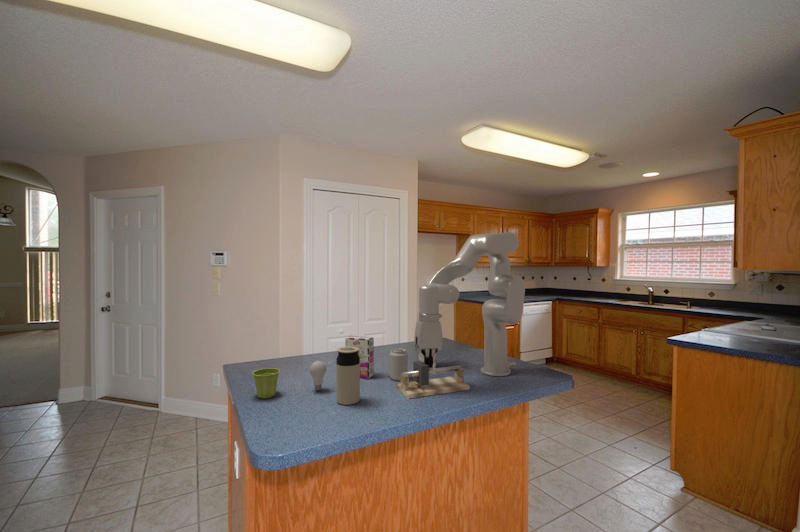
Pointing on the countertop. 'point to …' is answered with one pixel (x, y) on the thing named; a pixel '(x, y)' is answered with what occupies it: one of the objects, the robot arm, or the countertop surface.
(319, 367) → the lightbulb
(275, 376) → the plant pot
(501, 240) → the robot arm
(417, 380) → the collar
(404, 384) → the pipe stand
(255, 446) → the countertop surface
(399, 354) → the can
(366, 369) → the candy bar box
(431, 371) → the pipe
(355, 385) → the travel mug
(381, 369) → the countertop surface
